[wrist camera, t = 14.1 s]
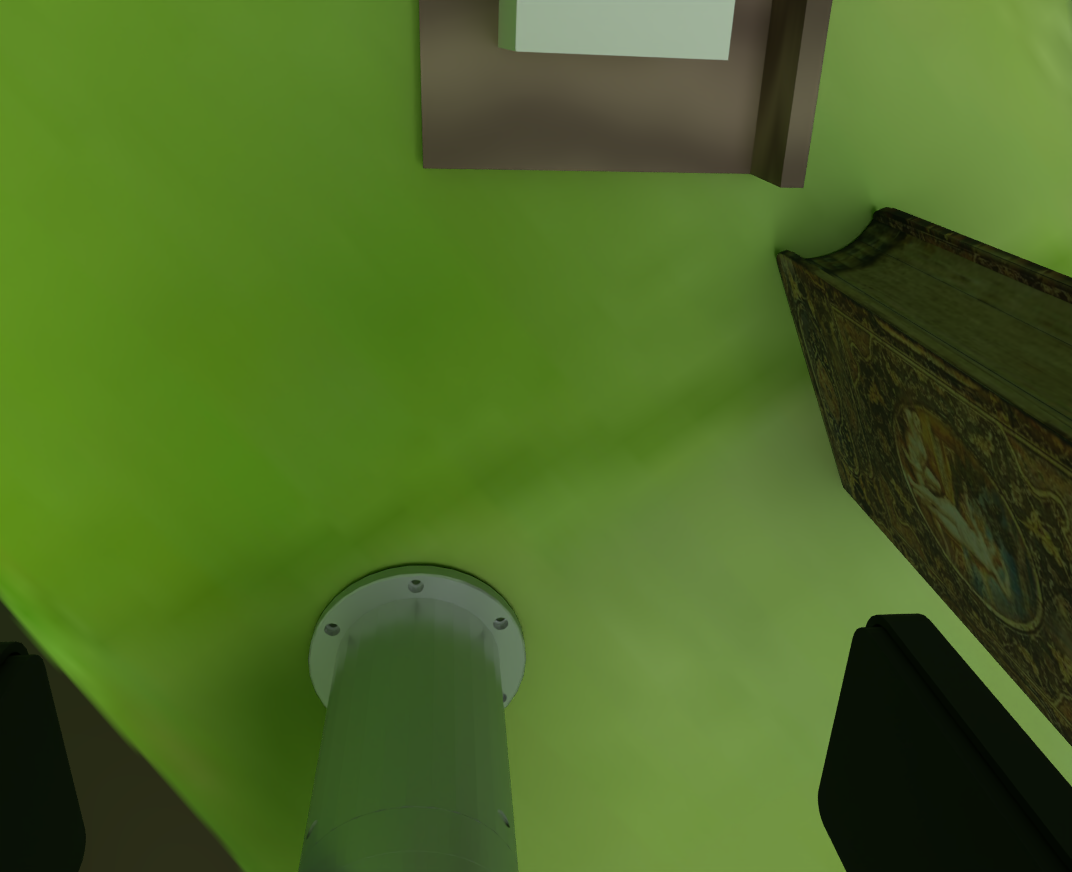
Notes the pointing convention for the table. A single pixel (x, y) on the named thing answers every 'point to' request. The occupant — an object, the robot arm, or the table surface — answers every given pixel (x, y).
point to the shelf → (623, 98)
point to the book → (955, 426)
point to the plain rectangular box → (618, 27)
